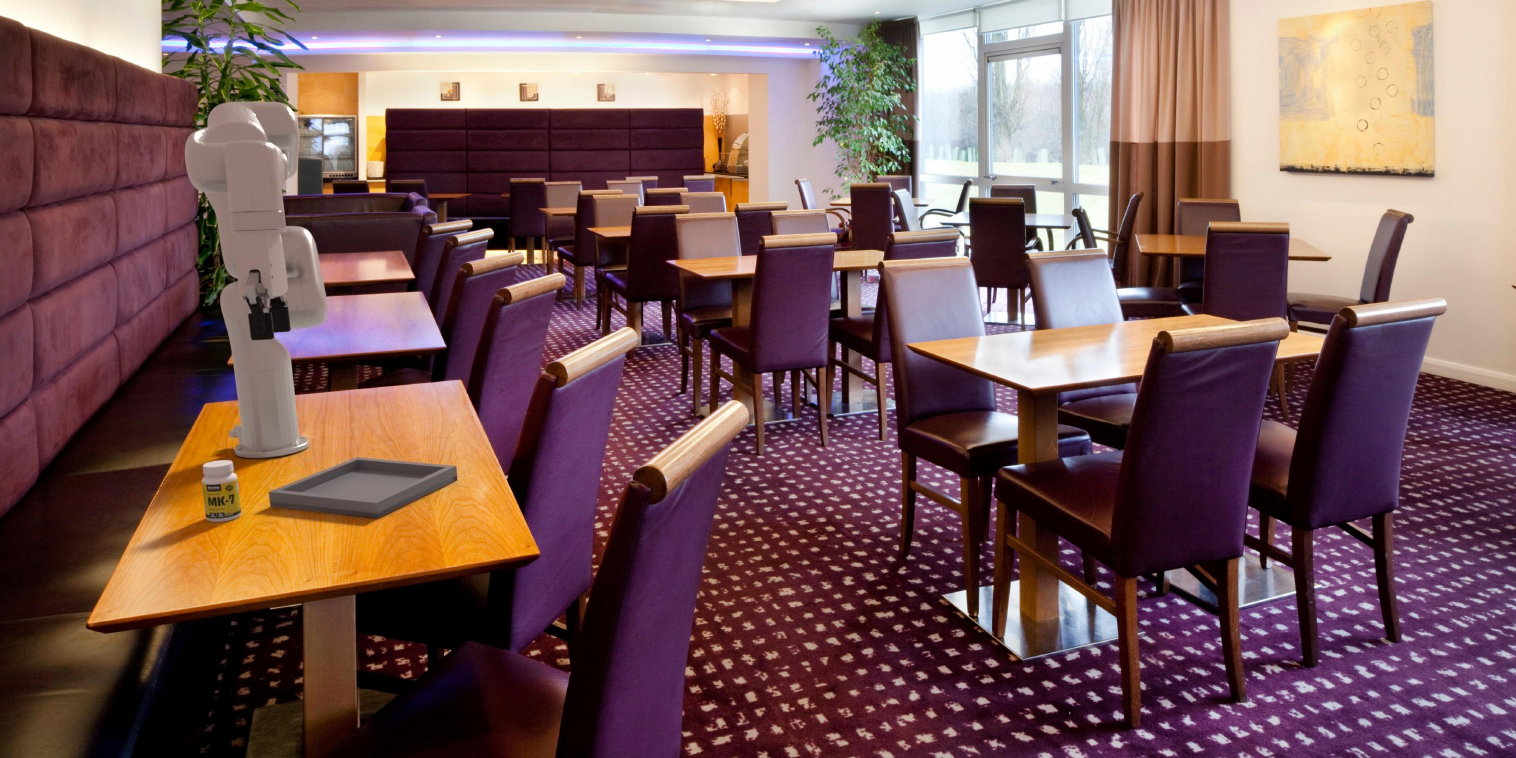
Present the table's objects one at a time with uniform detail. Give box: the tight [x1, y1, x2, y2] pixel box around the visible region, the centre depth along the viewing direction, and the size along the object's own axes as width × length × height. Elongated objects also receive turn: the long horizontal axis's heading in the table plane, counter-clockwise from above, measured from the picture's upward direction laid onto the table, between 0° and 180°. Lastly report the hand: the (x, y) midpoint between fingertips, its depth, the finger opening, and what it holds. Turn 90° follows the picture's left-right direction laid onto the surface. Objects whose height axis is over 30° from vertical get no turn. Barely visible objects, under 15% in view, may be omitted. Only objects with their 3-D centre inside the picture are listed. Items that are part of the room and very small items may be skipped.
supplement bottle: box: [201, 459, 242, 523], centre depth 157 cm, size 5×5×8 cm
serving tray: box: [268, 456, 458, 519], centre depth 168 cm, size 20×20×2 cm
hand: (271, 335), depth 163 cm, fingers open, 9 cm apart
